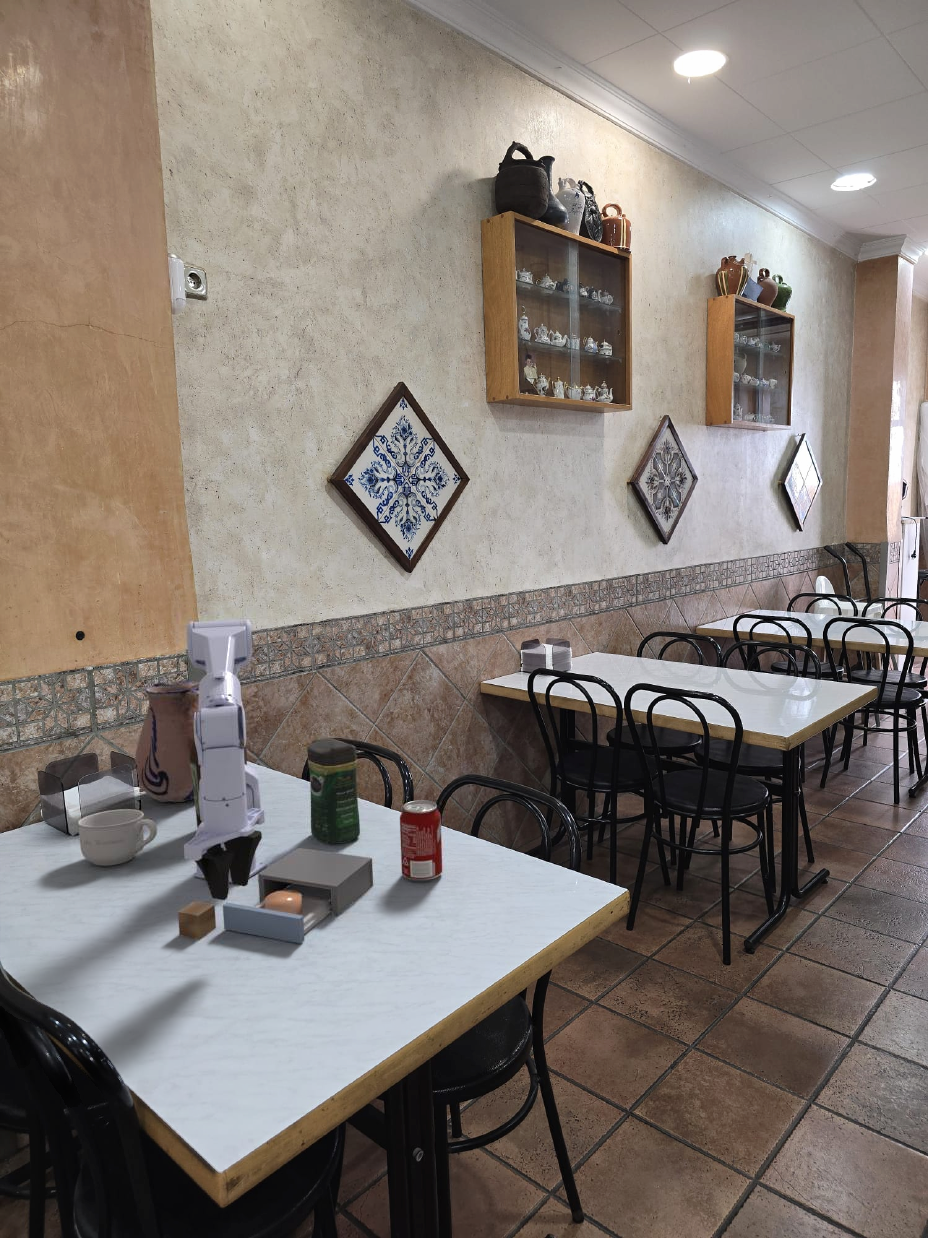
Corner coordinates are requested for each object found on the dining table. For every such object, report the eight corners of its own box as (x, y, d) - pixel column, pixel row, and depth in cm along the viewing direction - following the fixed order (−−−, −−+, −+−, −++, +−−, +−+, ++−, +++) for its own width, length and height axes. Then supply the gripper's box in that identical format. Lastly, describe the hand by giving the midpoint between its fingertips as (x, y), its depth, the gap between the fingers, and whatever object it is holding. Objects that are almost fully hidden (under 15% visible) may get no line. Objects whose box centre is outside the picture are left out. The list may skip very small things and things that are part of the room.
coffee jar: (367, 838, 154) (363, 741, 152) (329, 849, 149) (325, 749, 147) (341, 824, 162) (337, 732, 160) (304, 834, 157) (300, 739, 155)
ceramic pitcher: (183, 780, 194) (177, 675, 191) (249, 792, 183) (243, 682, 181) (119, 802, 179) (111, 689, 176) (186, 817, 168) (179, 697, 166)
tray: (224, 929, 120) (222, 905, 119) (268, 897, 130) (267, 875, 129) (300, 943, 115) (299, 919, 114) (340, 909, 125) (339, 886, 125)
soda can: (437, 885, 133) (435, 813, 132) (396, 883, 134) (394, 811, 133) (446, 868, 139) (444, 800, 138) (408, 866, 141) (405, 798, 140)
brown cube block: (179, 935, 119) (177, 912, 118) (196, 924, 122) (194, 901, 122) (199, 939, 117) (198, 915, 117) (216, 927, 121) (214, 904, 120)
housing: (259, 902, 128) (258, 874, 128) (299, 874, 139) (298, 847, 138) (337, 916, 123) (336, 886, 123) (373, 885, 134) (372, 858, 133)
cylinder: (258, 919, 121) (257, 903, 121) (278, 903, 126) (277, 888, 126) (289, 924, 119) (288, 908, 119) (309, 907, 124) (308, 892, 124)
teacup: (67, 867, 144) (63, 823, 144) (114, 844, 154) (111, 803, 154) (128, 878, 139) (125, 832, 138) (173, 854, 149) (170, 811, 148)
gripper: (213, 815, 102) (219, 919, 104) (280, 781, 116) (285, 874, 117) (168, 809, 105) (175, 911, 107) (239, 776, 118) (244, 867, 120)
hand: (230, 891), depth 112 cm, fingers open, 4 cm apart
